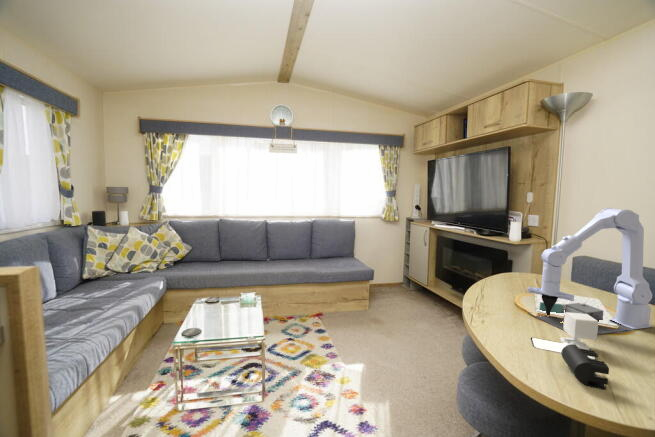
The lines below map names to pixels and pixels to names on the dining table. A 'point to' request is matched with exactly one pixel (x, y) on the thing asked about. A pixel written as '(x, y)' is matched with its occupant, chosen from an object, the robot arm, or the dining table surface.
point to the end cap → (585, 366)
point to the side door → (556, 308)
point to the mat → (556, 323)
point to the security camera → (579, 329)
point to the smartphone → (550, 346)
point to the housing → (584, 310)
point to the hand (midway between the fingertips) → (548, 314)
